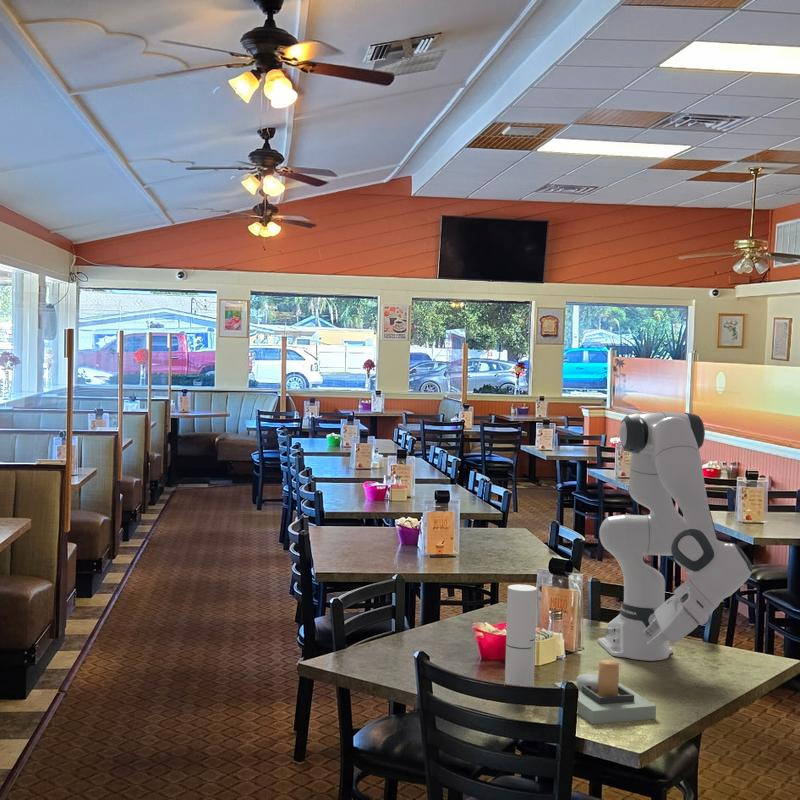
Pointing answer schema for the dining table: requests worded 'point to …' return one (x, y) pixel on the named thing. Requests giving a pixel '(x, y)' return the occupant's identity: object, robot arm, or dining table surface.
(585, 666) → the dining table surface
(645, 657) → the robot arm
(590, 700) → the stepped grey tray
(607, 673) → the orange cylinder
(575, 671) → the dining table surface
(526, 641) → the cylindrical container
